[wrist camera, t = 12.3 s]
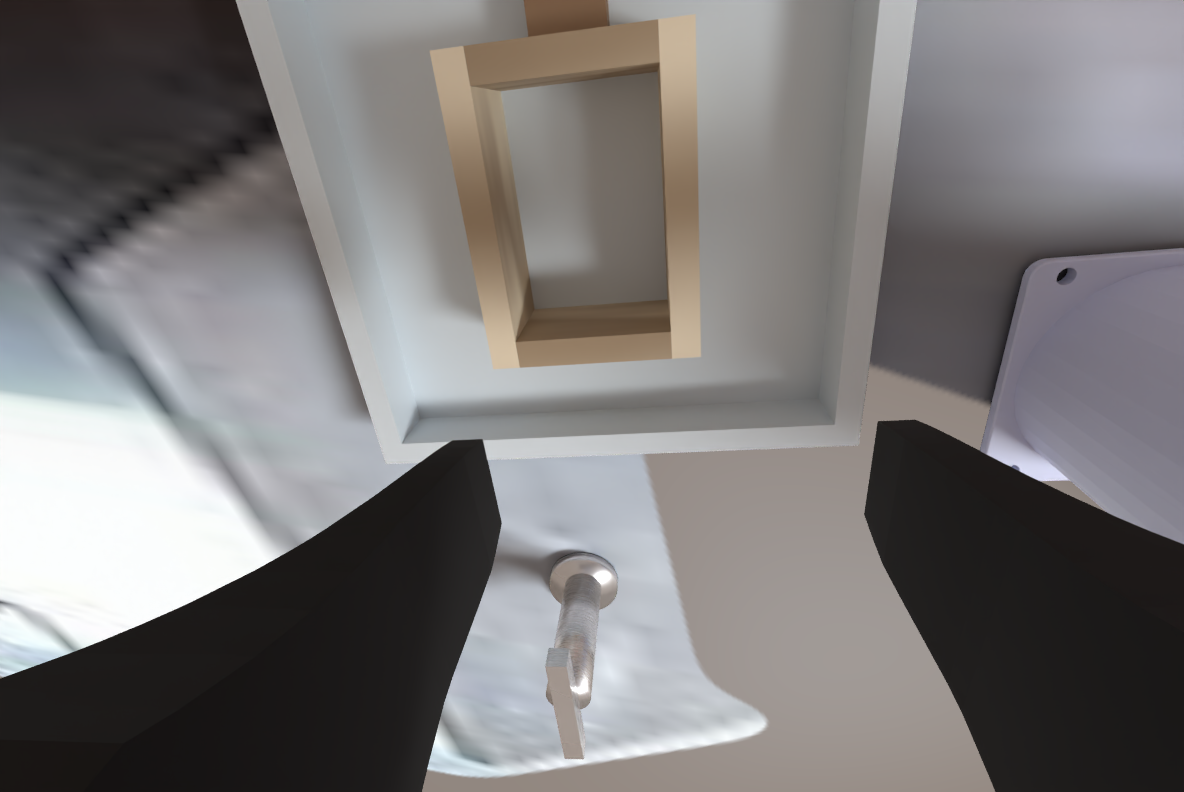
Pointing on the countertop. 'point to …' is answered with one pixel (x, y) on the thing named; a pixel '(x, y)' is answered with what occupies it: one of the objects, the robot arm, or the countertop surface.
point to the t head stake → (576, 641)
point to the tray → (601, 220)
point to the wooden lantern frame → (489, 200)
